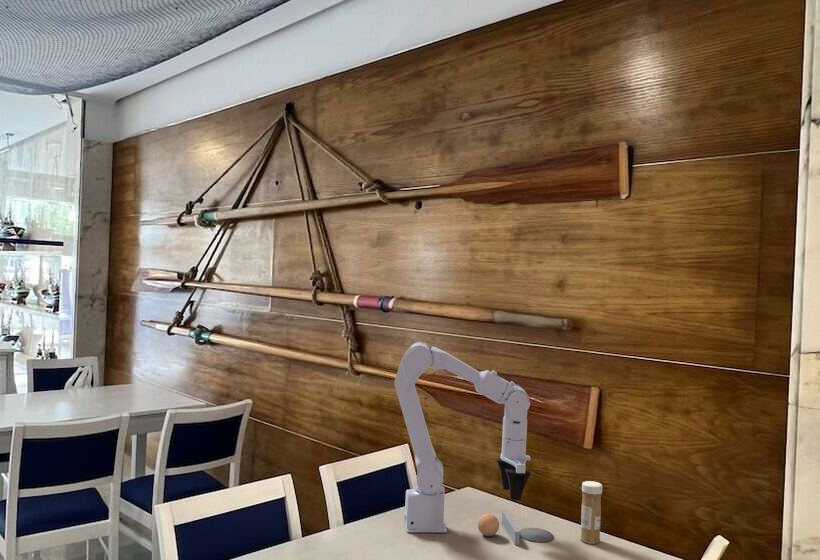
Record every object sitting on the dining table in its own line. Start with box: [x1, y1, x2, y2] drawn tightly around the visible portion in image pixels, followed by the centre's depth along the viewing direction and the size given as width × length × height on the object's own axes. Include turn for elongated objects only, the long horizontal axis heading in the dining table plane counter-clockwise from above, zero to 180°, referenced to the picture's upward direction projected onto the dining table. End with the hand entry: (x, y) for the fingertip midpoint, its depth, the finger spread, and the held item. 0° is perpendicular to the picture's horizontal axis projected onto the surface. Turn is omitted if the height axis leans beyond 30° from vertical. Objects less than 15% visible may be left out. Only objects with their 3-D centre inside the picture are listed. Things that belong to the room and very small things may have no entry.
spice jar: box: [580, 480, 603, 545], centre depth 154 cm, size 5×5×14 cm
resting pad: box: [519, 527, 554, 543], centre depth 156 cm, size 8×8×1 cm
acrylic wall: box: [501, 510, 520, 546], centre depth 157 cm, size 1×13×3 cm, turn 5°
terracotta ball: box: [477, 513, 500, 537], centre depth 155 cm, size 5×5×5 cm
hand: (511, 494), depth 158 cm, fingers open, 7 cm apart
